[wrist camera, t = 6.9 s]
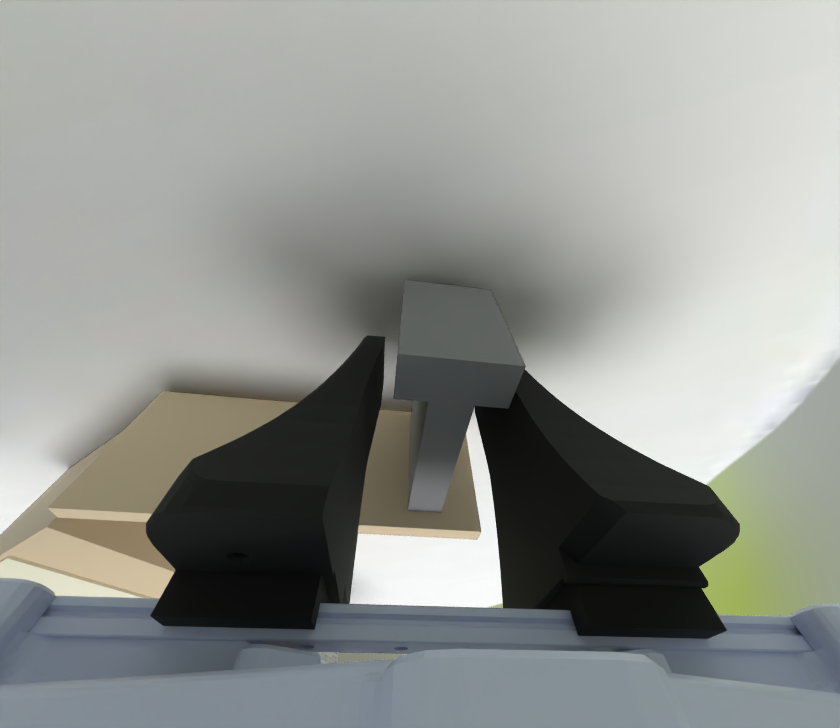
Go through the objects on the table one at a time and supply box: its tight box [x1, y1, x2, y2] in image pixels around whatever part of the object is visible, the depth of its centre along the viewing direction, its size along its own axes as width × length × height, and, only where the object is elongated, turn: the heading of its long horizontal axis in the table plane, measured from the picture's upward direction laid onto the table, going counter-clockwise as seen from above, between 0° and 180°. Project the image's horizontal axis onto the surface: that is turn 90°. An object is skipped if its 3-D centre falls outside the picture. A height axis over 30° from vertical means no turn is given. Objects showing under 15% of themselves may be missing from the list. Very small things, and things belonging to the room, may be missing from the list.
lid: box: [47, 280, 526, 540], centre depth 11 cm, size 14×7×6 cm, turn 83°
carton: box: [0, 431, 175, 599], centre depth 18 cm, size 14×10×6 cm
